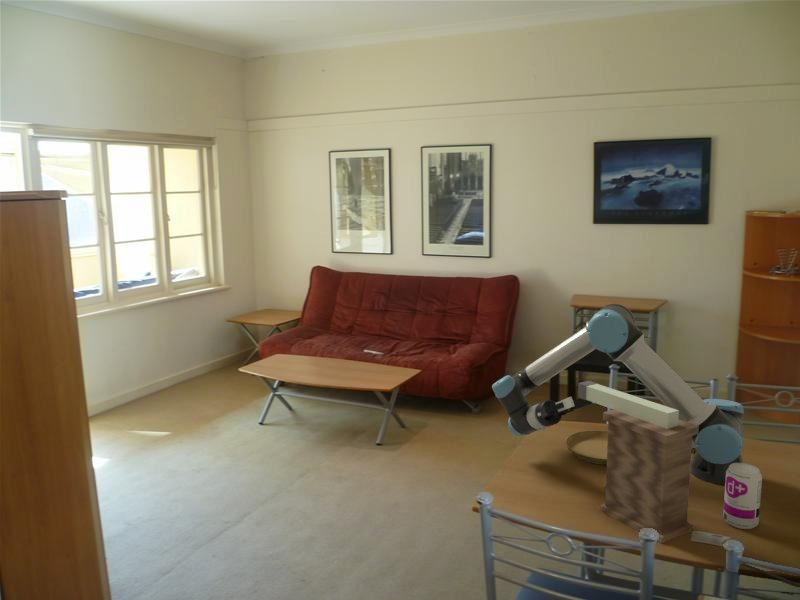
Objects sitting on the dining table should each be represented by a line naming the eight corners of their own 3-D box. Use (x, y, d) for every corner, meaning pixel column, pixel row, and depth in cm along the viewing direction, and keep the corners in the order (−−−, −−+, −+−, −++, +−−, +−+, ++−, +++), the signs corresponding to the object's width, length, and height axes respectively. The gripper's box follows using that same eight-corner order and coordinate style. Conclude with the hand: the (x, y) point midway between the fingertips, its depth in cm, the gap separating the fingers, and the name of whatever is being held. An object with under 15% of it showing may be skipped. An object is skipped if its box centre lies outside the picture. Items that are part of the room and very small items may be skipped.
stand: (599, 510, 182) (603, 412, 177) (630, 499, 188) (634, 404, 183) (661, 543, 165) (666, 436, 160) (692, 530, 171) (698, 426, 166)
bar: (577, 397, 190) (578, 383, 190) (588, 394, 193) (588, 380, 192) (667, 429, 165) (667, 413, 164) (678, 425, 167) (679, 409, 166)
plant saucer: (633, 474, 205) (633, 464, 204) (556, 459, 217) (556, 450, 216) (647, 446, 225) (648, 437, 225) (576, 434, 237) (576, 426, 237)
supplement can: (742, 533, 169) (747, 477, 167) (716, 518, 177) (719, 465, 174) (765, 526, 172) (769, 471, 170) (738, 512, 180) (741, 459, 177)
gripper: (578, 418, 211) (625, 401, 194) (517, 434, 199) (561, 418, 182) (570, 395, 213) (616, 377, 196) (509, 410, 201) (552, 392, 184)
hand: (589, 397), depth 189 cm, fingers open, 13 cm apart
